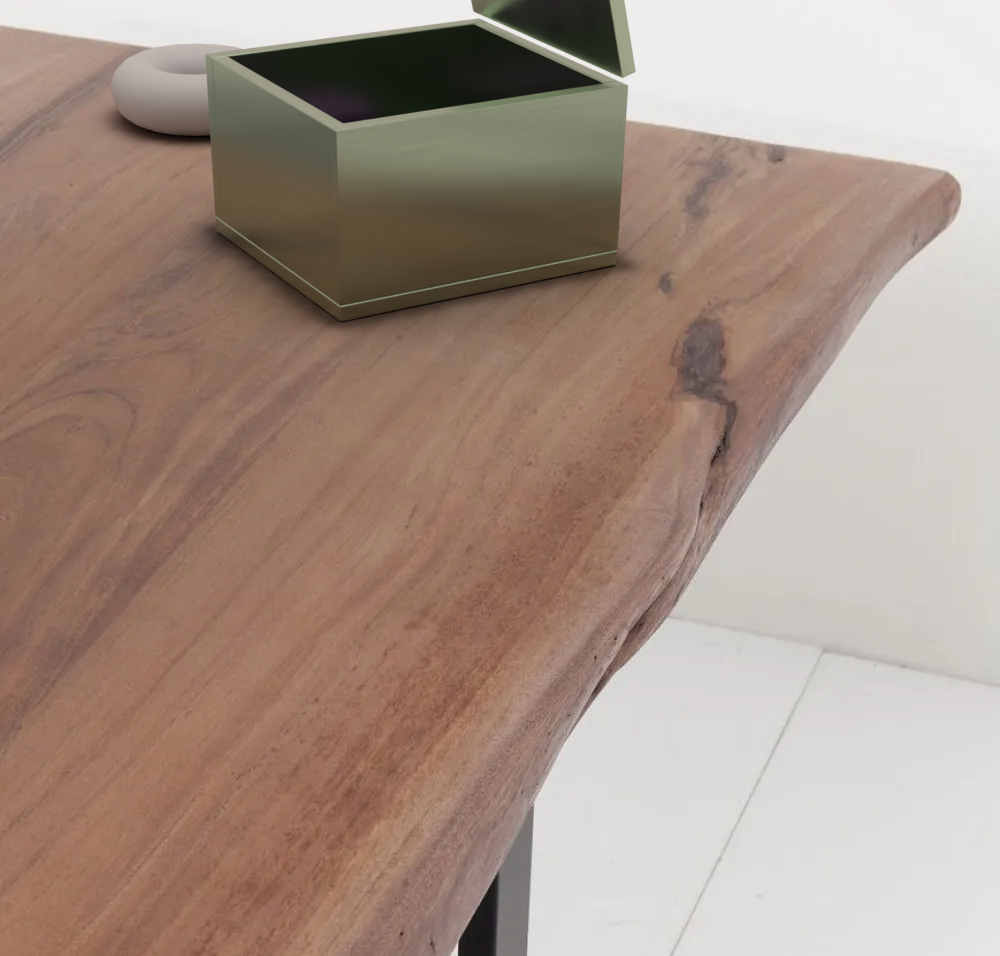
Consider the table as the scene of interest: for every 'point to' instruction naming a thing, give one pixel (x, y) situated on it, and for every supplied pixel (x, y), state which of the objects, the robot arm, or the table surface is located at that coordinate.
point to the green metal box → (415, 163)
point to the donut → (166, 88)
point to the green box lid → (571, 28)
